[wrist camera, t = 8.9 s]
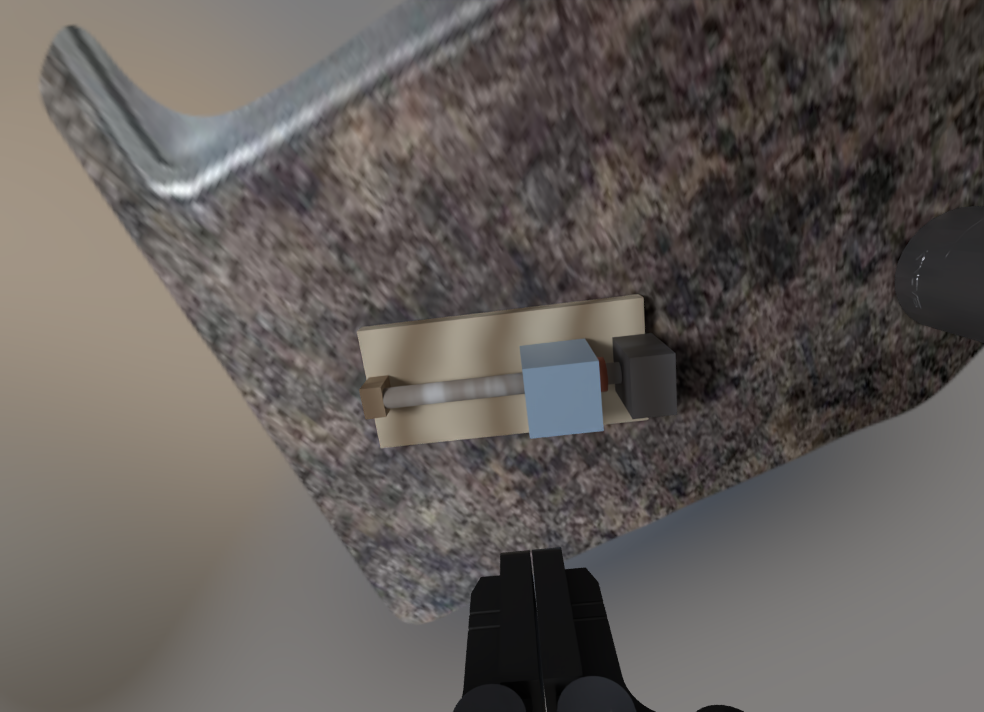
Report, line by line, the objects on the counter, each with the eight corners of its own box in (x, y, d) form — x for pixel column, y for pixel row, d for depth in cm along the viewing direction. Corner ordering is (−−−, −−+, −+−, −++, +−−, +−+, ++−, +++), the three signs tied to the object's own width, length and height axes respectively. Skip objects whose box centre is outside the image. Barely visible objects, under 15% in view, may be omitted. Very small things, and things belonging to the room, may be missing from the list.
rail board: (644, 293, 39) (674, 311, 33) (649, 411, 42) (677, 451, 35) (362, 327, 41) (333, 351, 34) (384, 439, 43) (362, 483, 37)
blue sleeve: (584, 338, 38) (598, 360, 33) (589, 399, 40) (603, 430, 34) (519, 345, 39) (522, 369, 33) (526, 406, 40) (530, 438, 35)
